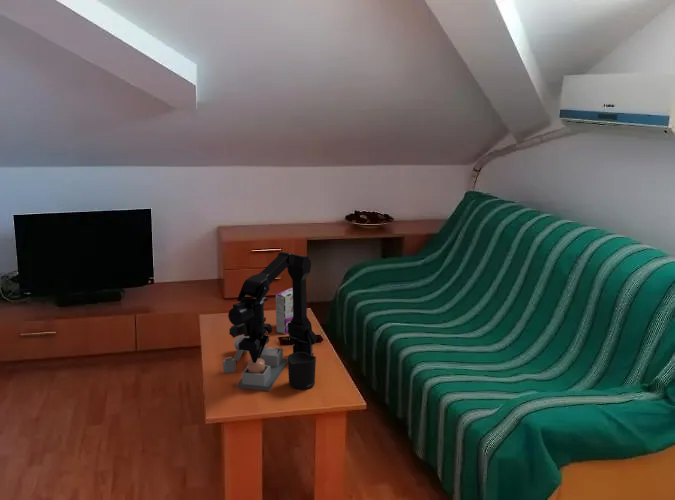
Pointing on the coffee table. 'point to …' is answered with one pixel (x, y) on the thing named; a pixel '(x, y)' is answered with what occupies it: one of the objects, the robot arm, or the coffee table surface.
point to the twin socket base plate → (270, 375)
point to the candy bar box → (284, 310)
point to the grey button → (270, 351)
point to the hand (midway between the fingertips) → (256, 360)
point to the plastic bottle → (241, 339)
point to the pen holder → (301, 370)
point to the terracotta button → (256, 366)
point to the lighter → (231, 362)
